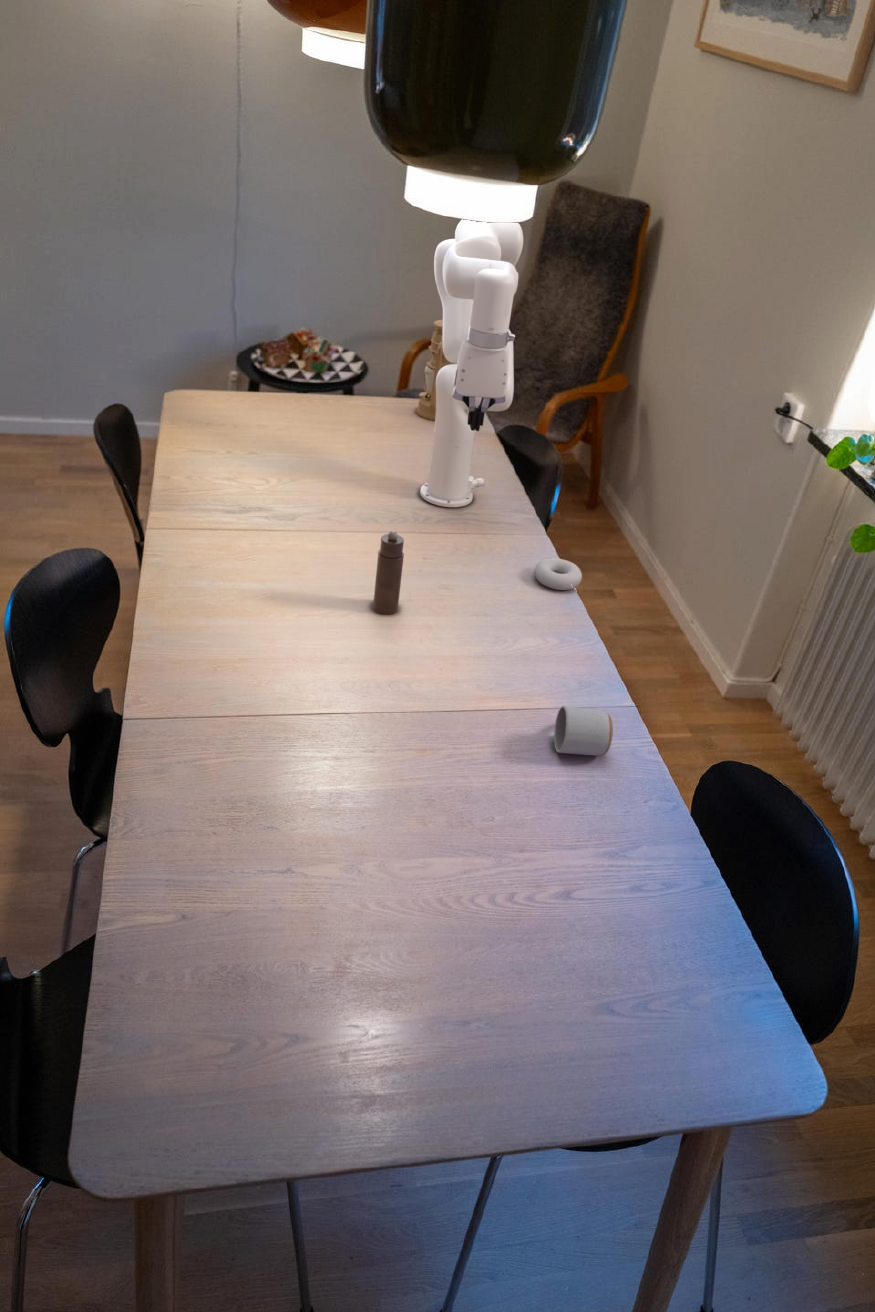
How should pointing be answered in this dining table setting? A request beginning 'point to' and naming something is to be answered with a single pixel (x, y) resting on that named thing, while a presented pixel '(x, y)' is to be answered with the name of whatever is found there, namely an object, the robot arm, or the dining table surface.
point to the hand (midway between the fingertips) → (474, 428)
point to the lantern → (432, 374)
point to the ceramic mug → (582, 731)
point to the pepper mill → (388, 574)
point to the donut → (558, 574)
